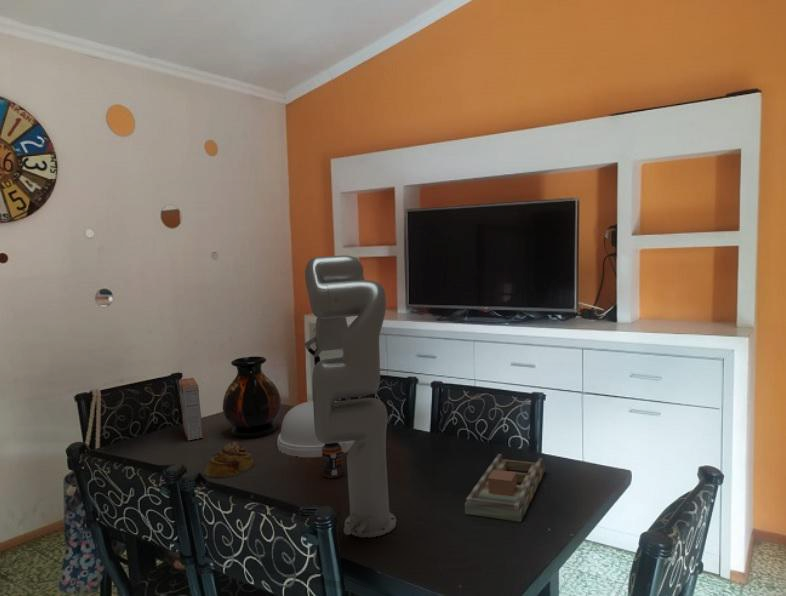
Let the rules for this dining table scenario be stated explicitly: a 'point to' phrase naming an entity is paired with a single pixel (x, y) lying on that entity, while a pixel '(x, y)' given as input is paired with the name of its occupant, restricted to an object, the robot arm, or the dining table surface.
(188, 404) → the cracker box
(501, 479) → the terracotta block
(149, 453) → the dining table surface
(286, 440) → the dome cover
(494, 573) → the dining table surface
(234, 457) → the pastry
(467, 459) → the dining table surface
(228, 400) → the dark brown vase
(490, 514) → the board
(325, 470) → the supplement bottle
